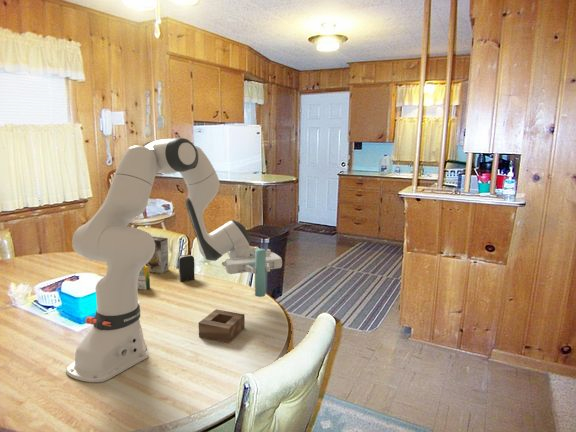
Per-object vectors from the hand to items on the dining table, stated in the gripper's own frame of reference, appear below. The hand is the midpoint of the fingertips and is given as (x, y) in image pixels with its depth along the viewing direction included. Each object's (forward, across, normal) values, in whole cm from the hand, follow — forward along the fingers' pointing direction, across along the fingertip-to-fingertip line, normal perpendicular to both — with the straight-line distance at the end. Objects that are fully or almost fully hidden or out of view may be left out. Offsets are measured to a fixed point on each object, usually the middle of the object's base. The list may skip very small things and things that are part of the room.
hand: (261, 270), depth 135 cm
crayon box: (-52, -35, +20) cm, 66 cm away
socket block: (0, -14, +20) cm, 24 cm away
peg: (-1, 0, +9) cm, 9 cm away
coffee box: (-72, -26, +20) cm, 80 cm away
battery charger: (-55, -15, +20) cm, 60 cm away
